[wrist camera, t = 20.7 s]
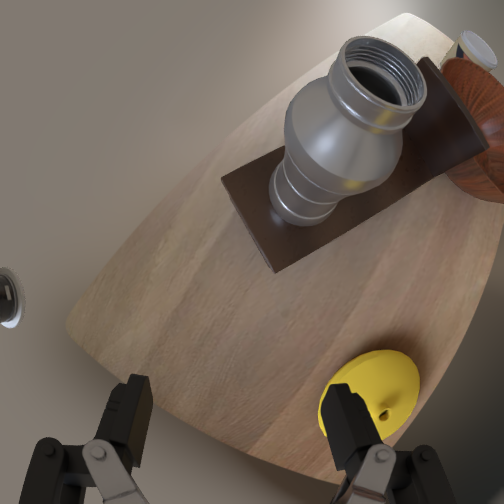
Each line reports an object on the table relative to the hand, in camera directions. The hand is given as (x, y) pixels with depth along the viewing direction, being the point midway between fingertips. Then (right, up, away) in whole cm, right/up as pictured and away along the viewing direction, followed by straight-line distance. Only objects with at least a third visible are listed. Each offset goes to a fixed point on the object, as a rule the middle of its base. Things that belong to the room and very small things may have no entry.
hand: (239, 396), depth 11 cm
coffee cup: (+43, +44, +27) cm, 67 cm away
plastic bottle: (+5, +12, +17) cm, 21 cm away
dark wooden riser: (+11, +14, +25) cm, 30 cm away
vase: (+17, -14, +23) cm, 32 cm away
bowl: (+38, +25, +25) cm, 52 cm away
